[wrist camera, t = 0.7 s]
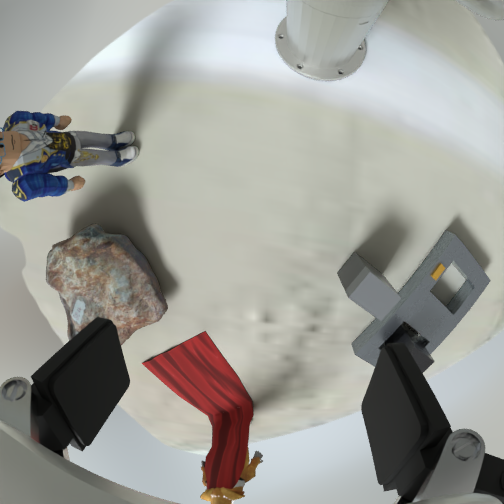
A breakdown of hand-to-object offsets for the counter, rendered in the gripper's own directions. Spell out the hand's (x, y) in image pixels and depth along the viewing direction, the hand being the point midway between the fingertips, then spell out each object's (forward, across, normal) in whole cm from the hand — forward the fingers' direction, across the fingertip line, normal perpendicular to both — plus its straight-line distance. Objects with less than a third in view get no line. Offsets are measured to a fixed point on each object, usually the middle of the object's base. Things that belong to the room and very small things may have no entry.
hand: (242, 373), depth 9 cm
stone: (+31, +28, +12) cm, 43 cm away
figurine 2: (+31, +10, +34) cm, 47 cm away
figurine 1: (+30, +23, -10) cm, 40 cm away
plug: (+30, -13, +7) cm, 34 cm away
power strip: (+30, -26, +13) cm, 42 cm away
